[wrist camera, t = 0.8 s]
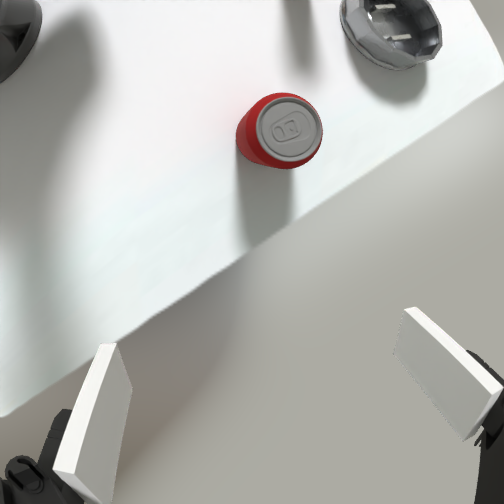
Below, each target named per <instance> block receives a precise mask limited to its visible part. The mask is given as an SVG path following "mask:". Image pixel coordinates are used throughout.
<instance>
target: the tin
mask: <svg viewBox="0 0 504 504" xmlns="http://www.w3.org/2000/svg"><path fill="white" fill-rule="evenodd" d="M340 20H341V23H342V27H343V29H344V31H345V33H346V35H347V37H348V38H349V40H350V41H351V43H352V44H353V45H354V46H355V47H356V49H357V50H358V51H359V52H360V53H361V54H363V55H364V56H365V57H366V58H368V59H369V60H370V61H372V62H374V63H375V64H377V65H379V66H382V67H384V68H387V69H392V70H405V69H408V68H411V67H413V66H415V65H416V64H418V63H421V62H425V61H428V60H432V59H434V58H435V56H436V55H437V53H438V51H439V50H440V48H441V47H442V30H441V24H440V22H439V20H438V18H437V16H436V14H435V12H434V10H433V8H432V6H431V5H430V4H429V2H428V1H427V0H342V2H341V5H340Z"/></svg>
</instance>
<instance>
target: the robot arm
mask: <svg viewBox="0 0 504 504" xmlns="http://www.w3.org/2000/svg"><path fill="white" fill-rule="evenodd" d="M41 20H42V11H41V7H40V5H39V3H38V2H37V1H36V0H0V83H1V82H2V81H4V80H5V79H6V78H8V77H9V76H10V75H11V74H12V73H13V72H14V71H15V70H16V69H17V68H18V67H19V65H20V64H21V63H22V62H23V60H24V59H25V57H26V56H27V55H28V53H29V51H30V50H31V48H32V46H33V44H34V42H35V40H36V38H37V35H38V33H39V29H40V26H41ZM393 355H394V356H395V357H396V358H397V359H398V361H399V362H400V363H401V364H402V365H403V367H404V368H405V369H406V370H407V372H408V373H409V374H410V375H411V376H412V378H413V379H414V380H415V381H416V383H417V384H418V385H419V386H420V387H421V389H422V390H423V391H424V393H425V394H426V395H427V396H428V398H429V399H430V400H431V401H432V403H433V404H434V405H435V406H436V408H437V409H438V410H439V411H440V413H441V414H442V415H443V417H444V418H445V419H446V420H447V422H448V423H449V424H450V426H451V427H452V428H453V429H454V431H455V432H456V433H457V435H458V436H459V437H460V439H461V440H462V441H465V440H467V439H468V438H470V437H472V436H473V435H475V433H476V432H477V431H478V429H479V428H480V426H481V425H482V426H483V427H484V430H483V431H482V433H481V434H480V436H479V437H478V439H477V440H476V441H475V444H474V446H476V445H477V444H478V443H479V441H480V440H481V444H480V445H479V447H481V453H480V466H479V475H478V482H477V489H476V496H475V502H474V504H504V380H503V379H502V378H501V377H500V376H499V375H498V374H497V373H496V372H495V371H494V370H493V369H492V368H489V366H488V364H486V363H484V361H483V360H482V359H481V358H480V357H479V356H478V355H477V354H475V353H473V352H471V351H469V350H466V351H465V350H464V349H463V348H462V347H461V346H460V345H459V344H458V343H456V342H455V341H454V340H453V339H452V338H451V337H450V336H449V335H447V334H446V333H445V332H444V331H443V330H442V329H441V328H440V327H438V326H437V325H436V324H435V323H434V322H433V321H432V320H431V319H429V318H428V317H427V316H426V315H425V314H424V313H422V312H421V311H420V310H419V309H418V308H417V307H412V308H407V309H404V311H403V315H402V320H401V324H400V329H399V333H398V338H397V342H396V345H395V349H394V353H393ZM132 390H133V388H132V386H131V383H130V380H129V378H128V375H127V372H126V370H125V367H124V364H123V361H122V358H121V355H120V352H119V349H118V346H117V343H101V344H100V346H99V349H98V351H97V353H96V355H95V358H94V360H93V362H92V364H91V367H90V369H89V371H88V374H87V376H86V379H85V381H84V383H83V386H82V388H81V391H80V393H79V396H78V398H77V401H76V403H75V406H74V408H73V410H68V409H62V410H61V411H60V412H59V414H58V415H57V416H56V417H55V418H54V421H53V423H52V426H51V430H50V431H49V433H48V436H47V437H48V438H47V439H46V441H45V444H44V446H43V449H42V452H41V455H40V457H39V460H38V463H36V462H35V461H34V460H33V459H32V458H30V457H28V456H23V455H21V456H16V457H15V458H13V459H11V460H10V461H9V463H8V464H7V466H6V469H5V476H6V478H7V479H8V480H3V479H2V478H1V477H0V504H84V501H85V502H86V503H87V504H112V497H113V490H114V484H115V477H116V471H117V464H118V459H119V454H120V447H121V442H122V437H123V432H124V427H125V422H126V418H127V413H128V408H129V404H130V399H131V395H132Z"/></svg>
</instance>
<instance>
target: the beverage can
mask: <svg viewBox="0 0 504 504" xmlns="http://www.w3.org/2000/svg"><path fill="white" fill-rule="evenodd" d="M322 135H323V129H322V123H321V120H320V117H319V115H318V113H317V111H316V110H315V109H314V107H313V106H312V105H311V104H310V103H309V102H308V101H306V100H305V99H303V98H301V97H300V96H297V95H294V94H291V93H275V94H271V95H268V96H266V97H264V98H262V99H261V100H259V101H258V102H257V103H256V104H255V105H254V106H253V107H252V108H251V109H250V110H249V111H248V112H247V113H246V114H245V116H244V117H243V118H242V119H241V121H240V122H239V124H238V127H237V130H236V141H237V145H238V148H239V150H240V151H241V153H242V154H243V155H244V156H245V157H246V158H247V159H249V160H250V161H252V162H254V163H257V164H261V165H264V166H269V167H274V168H279V169H292V168H296V167H299V166H301V165H303V164H305V163H307V162H308V161H309V160H311V159H312V158H313V157H314V155H315V154H316V153H317V151H318V149H319V147H320V144H321V141H322Z"/></svg>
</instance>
